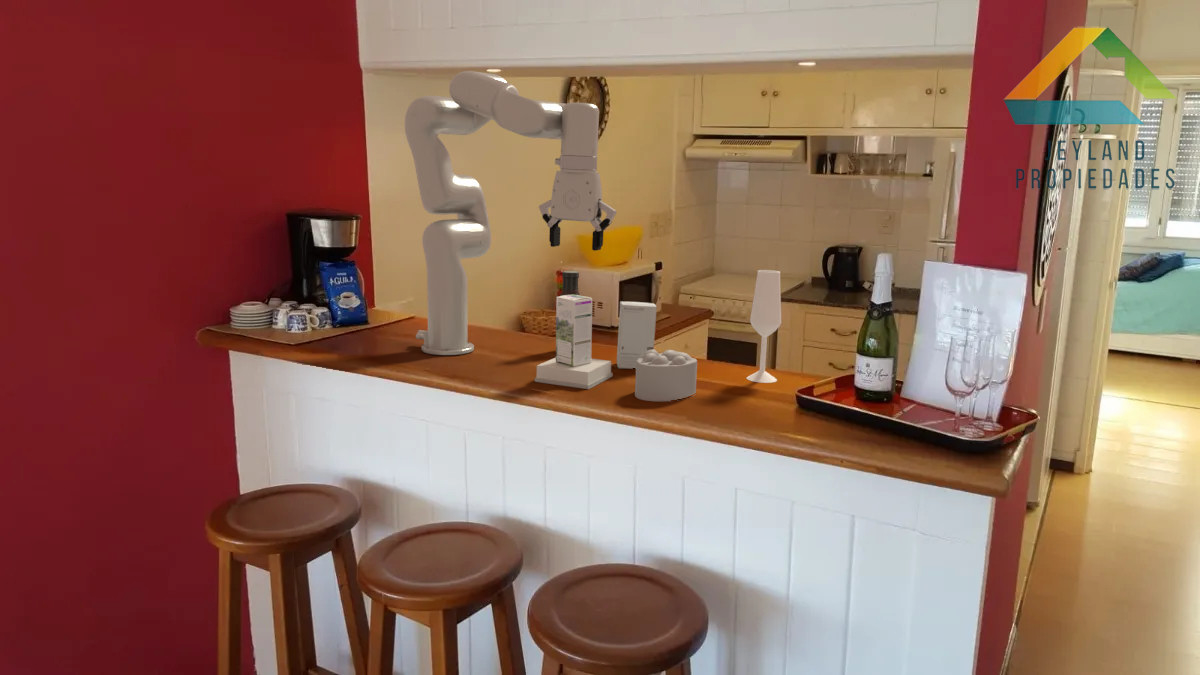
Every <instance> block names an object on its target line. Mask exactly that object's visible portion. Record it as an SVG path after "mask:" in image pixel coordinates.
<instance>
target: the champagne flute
mask: <svg viewBox="0 0 1200 675" xmlns="http://www.w3.org/2000/svg"><path fill="white" fill-rule="evenodd" d="M781 296H782V295H781V271H778V270H774V269H773V270H772V269H771V270H770V269H759V270H757V273H756V280H755V287H754V293H753V298H752V299H753V300H752V306H751V310H750V311H751V312H750V319H749V321H750V322H749V323H750V324H751V326H752V328H753V329H754V331H755V332H756V333H757V334H758V335H760V336H761V340H760V341H761V342H760V343H761V346H760V358H759V360H760V361H759V370H757V371H756V372H754V373H752V374H750V375H748V376H747V377H746V379H747V380H748V381H751V382H755V383H761V384H763V383H765V384H769V383H770V384H771V383H776V382H778V379H777V378H776V377H775V376H773V375H772V374H770V373H769V372H767V371H766V361H767V360H766V359H767V346H768V337H769V336H771V335H772V334H773V333H775V332H776V331H777V330H778V328H780V326H781V324H782V304H781V303H782V302H781V301H782V298H781Z"/></svg>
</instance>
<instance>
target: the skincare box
mask: <svg viewBox="0 0 1200 675" xmlns="http://www.w3.org/2000/svg"><path fill="white" fill-rule="evenodd" d="M618 317H619V318H618V332H617V333H618V334H617V347H616V348H617V351H616V365H617V369H627V370H629V369H630V370H631V369H632V370H633V368H635V370H636V361H637V360H638V359H639V358H640V357H641V356H644V354H645V352H646V351H648V350H651V349H654V350H655V348H654V347H655V334H656V322H657V320H656V319H657V305H656V304H655V303H654V302H642V301H641V302H640V301H620V302H619V316H618Z"/></svg>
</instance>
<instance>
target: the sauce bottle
mask: <svg viewBox="0 0 1200 675" xmlns="http://www.w3.org/2000/svg"><path fill="white" fill-rule="evenodd" d="M561 275H562V276H561V277H562V286H561V288H562V291H561V292H560V294H559V295H558V297H559V296H563V295H579V296H581V295H580V292H579V279H580V278H579V277H580V272H579V271H575V270H570V271H569V270H567V271H566V270H565V271H564V270H563V271H562V273H561Z"/></svg>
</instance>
